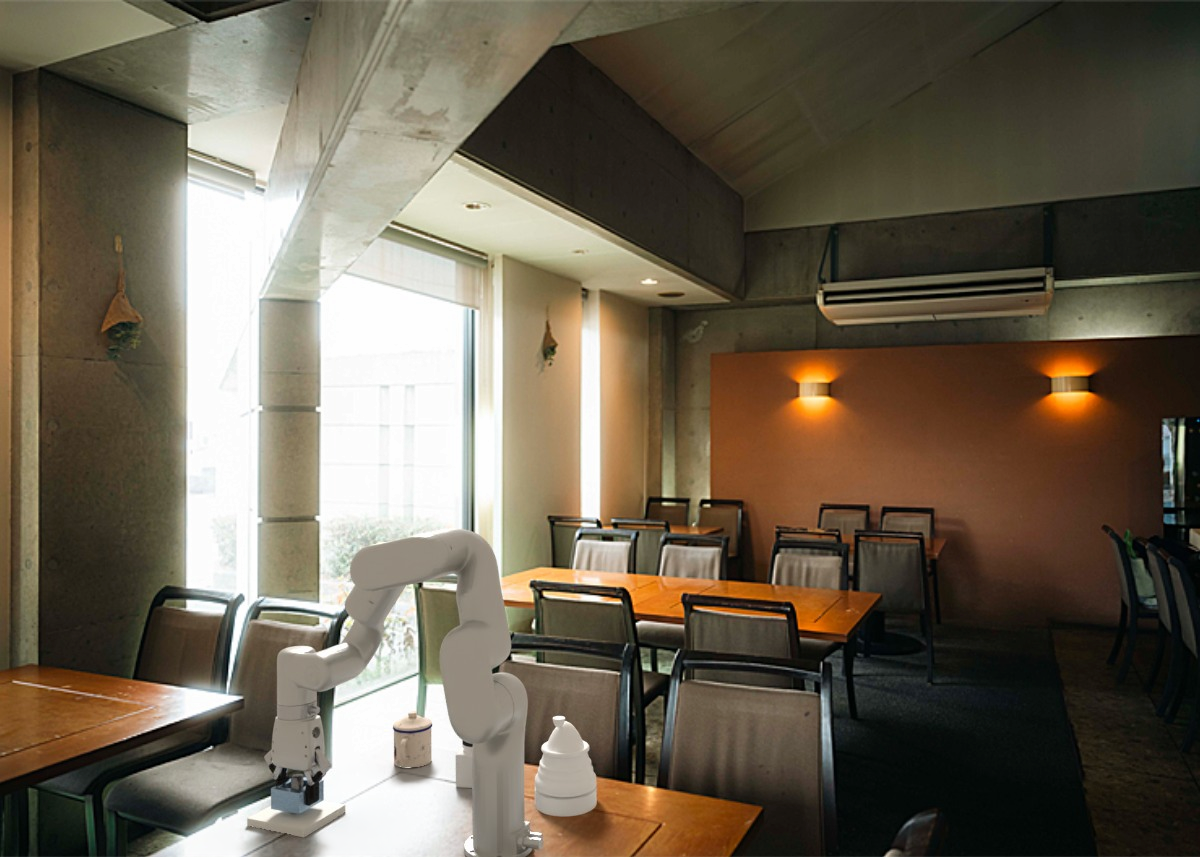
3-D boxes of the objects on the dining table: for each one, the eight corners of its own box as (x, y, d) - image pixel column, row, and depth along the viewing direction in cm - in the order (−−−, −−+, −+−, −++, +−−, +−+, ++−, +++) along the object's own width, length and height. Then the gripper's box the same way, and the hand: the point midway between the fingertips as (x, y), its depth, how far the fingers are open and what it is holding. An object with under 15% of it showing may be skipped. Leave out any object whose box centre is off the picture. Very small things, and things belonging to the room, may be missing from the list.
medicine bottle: (486, 789, 183) (486, 733, 183) (455, 787, 184) (454, 731, 184) (497, 777, 190) (496, 723, 190) (466, 775, 191) (466, 721, 191)
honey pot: (570, 822, 166) (569, 729, 167) (521, 806, 174) (520, 717, 175) (609, 800, 177) (608, 713, 177) (561, 786, 184) (560, 702, 185)
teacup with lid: (400, 754, 204) (400, 706, 205) (437, 755, 203) (437, 707, 204) (382, 773, 193) (382, 721, 193) (421, 774, 192) (421, 722, 192)
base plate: (345, 812, 172) (345, 804, 172) (303, 837, 161) (303, 829, 161) (291, 802, 177) (291, 794, 177) (247, 825, 166) (247, 818, 166)
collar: (323, 800, 171) (323, 780, 171) (299, 814, 164) (299, 793, 165) (296, 795, 174) (296, 775, 174) (271, 808, 167) (270, 788, 167)
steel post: (307, 809, 170) (307, 774, 170) (297, 815, 167) (297, 779, 167) (296, 807, 171) (296, 772, 171) (286, 813, 168) (286, 777, 168)
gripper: (344, 709, 170) (345, 799, 169) (276, 700, 176) (277, 787, 176) (319, 720, 163) (319, 814, 162) (249, 711, 169) (249, 801, 169)
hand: (297, 799), depth 169 cm, fingers closed on collar, 6 cm apart
